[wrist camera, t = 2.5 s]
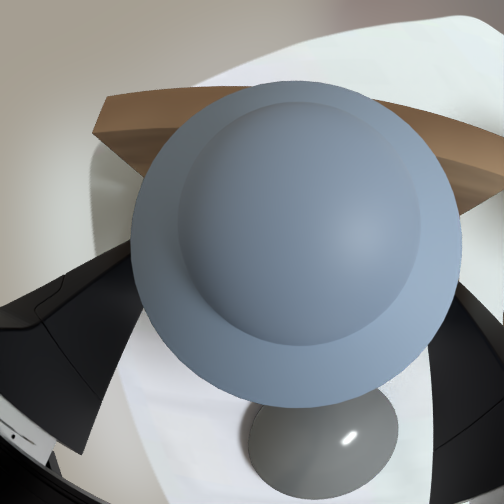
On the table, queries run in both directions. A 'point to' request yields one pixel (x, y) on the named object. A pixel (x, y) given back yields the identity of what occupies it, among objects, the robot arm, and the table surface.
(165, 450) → the table surface
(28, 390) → the robot arm
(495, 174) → the walnut bench
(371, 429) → the coaster
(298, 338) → the pepper mill
